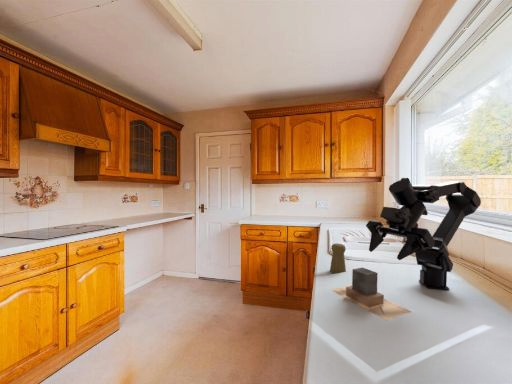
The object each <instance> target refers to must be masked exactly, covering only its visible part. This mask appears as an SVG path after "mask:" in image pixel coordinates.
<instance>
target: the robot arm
mask: <svg viewBox="0 0 512 384" xmlns="http://www.w3.org/2000/svg"><path fill="white" fill-rule="evenodd" d="M388 191H389V193H390V194H391V195H392V197H393V198H394V199H393V200H395V202H396V204H398V205H400V206H402V207H400V208H398V207H392V206H391V207H390V206H383V207H382V209H381V211H380V212H381V213H380V215H379V218H381V219H384V220H386V221H385V223H386V225H387V226H384V224H383V223H382V222H381V221H378V220H368V221H367V223H366V225H365V226H366V228H367V229H368V231H369V232H370V240H369V247H368V251H369V252H370V253H372V252H374V251H375V250H376V249H377V248H378V247H379V246H380V244H381V243H383V242H384V241H385V239H384V238H386V236H387V235H391V236H396V237H399V238H403V239H406V240H405V242H404V244H403V246H402V247H401V248H400V250H399V252H398V254H397V256H396V259H397V260H398V261H401V260H403V259H405V258H407V257H409V256H411V255H412V254H414V255H415V259H416V264H417V265H418V266H421V269H420V270H419V279H418V282H419V283H421V284H422V285H423V286H424V287H426V288H428V289H436V290H437V289H438V290H447V291H449V290H450V287H449V286H447V279H448V277H447V276H448V273H451V272H452V271H453V267H454V264H453V261H452V260H451V258H450V257H449V256H450V252H449V249H448V246H449V244H450V242H451V240H452V239H453V237H454V235H455V234H456V233H457V231H458V229H459V227H460V226H461V224H462V222H463V221H464V219H465V218H466V217H468V216H469V215H472V214H474V213H475V212H476V211H477V210H478V209H479V207H481V202H482V200H481V197H480V196H479V194H478V193H477V191H476V190H474V189H472V188H470V187H469V186H467V185H466V183H465V182H464V181H461V180H460V181H459V180H458V181H457V180H455V181H451V180H450V181H446V182H442V183H437V184H413V185H412V183H411V180H410V178H409V177H401V179H400V180H397V181H395V182H393V183H391V184H390V185H389V187H388ZM442 197H445V200H446V201H447V205H448V207H449V208H448V211H447V213H446V214H445V215H444V217H443V219H442V221H440V224H439V225H438V227H437V228H436V230H435V232H434V233H433V234H431V233H430V231H429V230H428V228H425V227H423V228H422V227H419V224H418V222H419V220H420V218H422V216H428V215H429V214H428V210H427V207H426V205H425V204H434V203H436V202H438V201H440V198H442Z"/></svg>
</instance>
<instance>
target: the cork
mask: <svg viewBox="0 0 512 384" xmlns="http://www.w3.org/2000/svg"><path fill="white" fill-rule="evenodd" d="M330 248H331V252H332V254H331V261H330V268H329V273H331V274H333V275H337V274H341V273H346V272H347V271H346V270H347V267H346V260H345V252H346V246H345V244H343V243H332V245H331V247H330Z"/></svg>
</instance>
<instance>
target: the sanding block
mask: <svg viewBox="0 0 512 384" xmlns="http://www.w3.org/2000/svg"><path fill="white" fill-rule="evenodd" d="M351 273H352V274H351V275H352V278H351V280H352V281H351V282H352V283H351V285H352V286H351V285H348V286H349V287H347V286H345V287H346V297H347V298H349V299H351V300H353V301H355V302H357V303H359V304H360V305H362V306H364V307H366V308H368V309H372V308H375V307H379V306H382V305H383V303H384V299H385V298H384V297H385V296H384V294H382V293H380V292H378V272H376V271H373V270H371V269H368V268H365V267H363V266H362V267H357V268H352V271H351Z"/></svg>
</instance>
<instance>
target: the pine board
mask: <svg viewBox="0 0 512 384" xmlns="http://www.w3.org/2000/svg"><path fill="white" fill-rule="evenodd" d="M349 286H352V284H351V285H348V286H343V287H338V288H335V289H334V288H333V289H331V290H330V291H331V292H333V293H335V294H337V295H339V296H341V297H342V298H345V299H347V300H348V301H350V302H352V303H353V304H355V305H357V306H359V307H360V308H362V309H365V310H366V311H368V312H370V313H372V314H374V315H375V316H378V317H379V318H382V319H383V320H385V321H388V320H391V319H395V318H397V317H401V316H404V315H407V314H411V313H412V312H413V311H412V310H409V309H407V308H405V307H403V306H401V305H399V304H397V303H395V302H392V301H391V300H388V299H385V298H384V303H383V305H382V306H379V307H375V308H372V309H368V308H366V307H364V306H362V305H360V304H359V303H357V302H355V301H353V300H351V299H349V298H347V297H346V287H349Z"/></svg>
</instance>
